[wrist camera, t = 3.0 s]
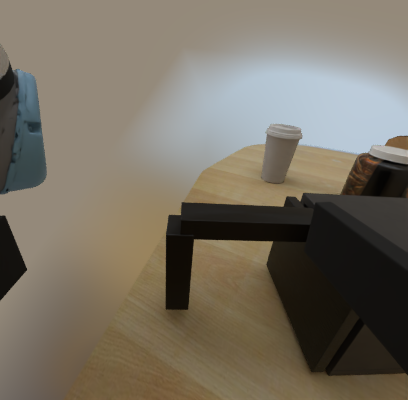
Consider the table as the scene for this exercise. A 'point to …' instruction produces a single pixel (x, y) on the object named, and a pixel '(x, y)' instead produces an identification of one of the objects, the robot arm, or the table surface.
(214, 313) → the table surface
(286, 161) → the coffee cup
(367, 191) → the jar
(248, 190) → the table surface
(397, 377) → the table surface
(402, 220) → the box
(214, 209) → the fryer drawer
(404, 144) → the bread
